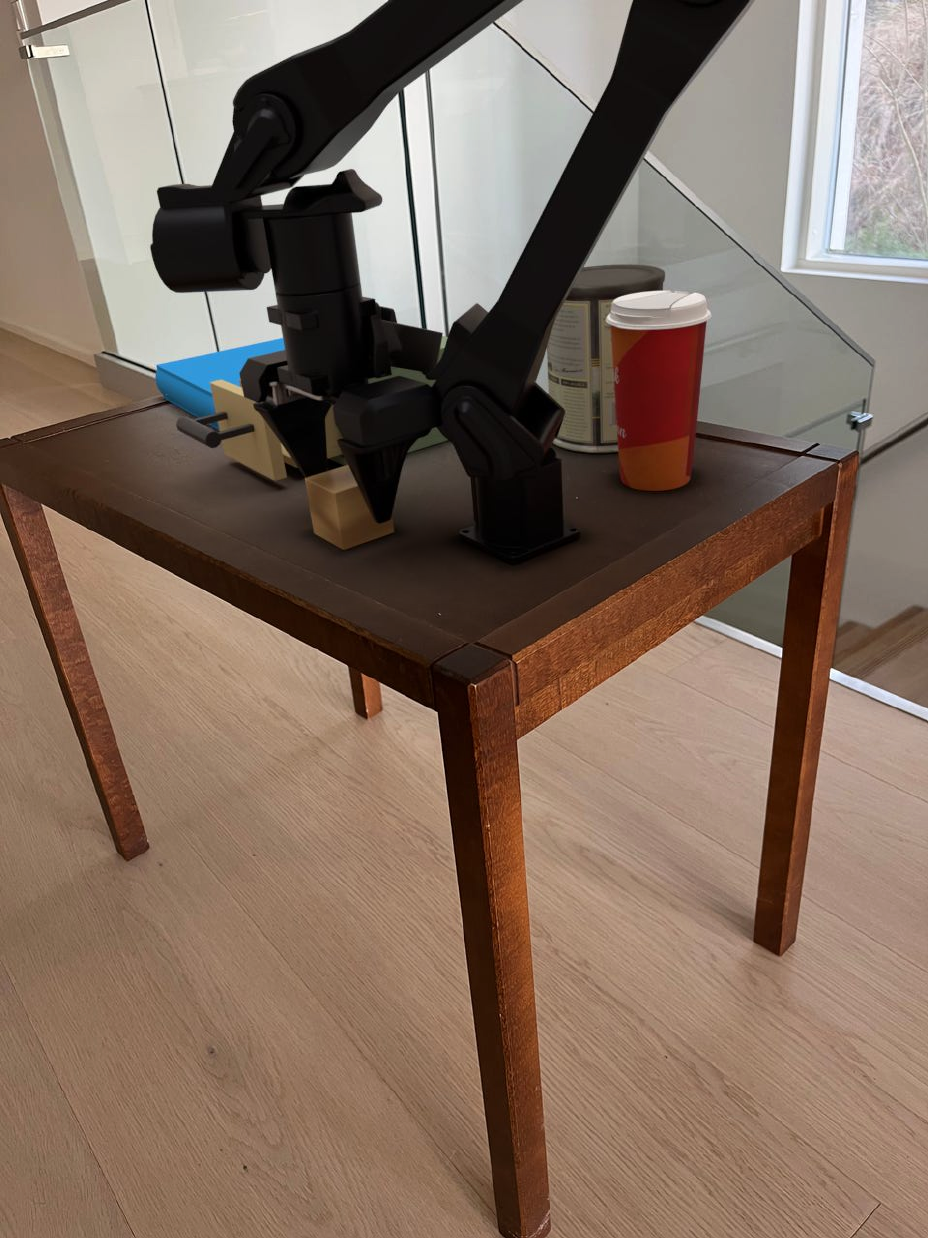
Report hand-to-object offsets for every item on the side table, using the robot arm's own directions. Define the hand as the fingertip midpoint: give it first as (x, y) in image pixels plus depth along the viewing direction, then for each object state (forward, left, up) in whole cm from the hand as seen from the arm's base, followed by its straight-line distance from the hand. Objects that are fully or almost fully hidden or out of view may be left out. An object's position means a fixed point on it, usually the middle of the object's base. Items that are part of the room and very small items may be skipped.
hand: (350, 504), depth 71 cm
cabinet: (+18, -14, -2) cm, 23 cm away
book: (+39, -12, -2) cm, 41 cm away
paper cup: (-9, -23, -2) cm, 25 cm away
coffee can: (+2, -28, -2) cm, 28 cm away
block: (0, 0, -2) cm, 2 cm away
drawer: (+18, -4, -1) cm, 18 cm away
